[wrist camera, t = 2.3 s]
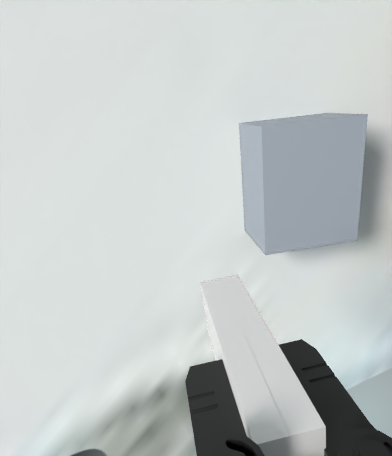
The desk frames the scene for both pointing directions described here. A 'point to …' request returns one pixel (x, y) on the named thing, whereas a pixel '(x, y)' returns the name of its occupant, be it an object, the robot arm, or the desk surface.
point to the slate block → (302, 180)
